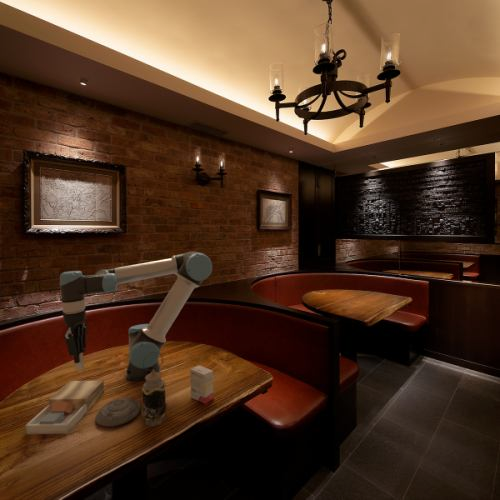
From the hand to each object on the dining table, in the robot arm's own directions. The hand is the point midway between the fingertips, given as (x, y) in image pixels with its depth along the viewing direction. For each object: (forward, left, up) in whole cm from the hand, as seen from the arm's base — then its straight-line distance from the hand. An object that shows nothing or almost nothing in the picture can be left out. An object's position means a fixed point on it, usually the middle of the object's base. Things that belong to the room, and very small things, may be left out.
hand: (79, 369), depth 112 cm
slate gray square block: (+1, +15, -9) cm, 18 cm away
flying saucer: (-19, +9, -13) cm, 25 cm away
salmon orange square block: (+1, +11, -11) cm, 15 cm away
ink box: (-48, -1, -13) cm, 50 cm away
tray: (+1, +13, -13) cm, 18 cm away
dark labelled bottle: (-33, +12, -13) cm, 38 cm away
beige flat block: (+1, 0, -13) cm, 13 cm away
